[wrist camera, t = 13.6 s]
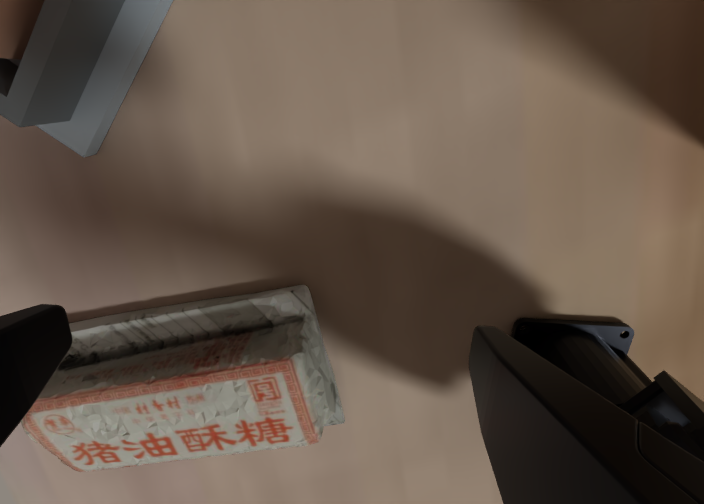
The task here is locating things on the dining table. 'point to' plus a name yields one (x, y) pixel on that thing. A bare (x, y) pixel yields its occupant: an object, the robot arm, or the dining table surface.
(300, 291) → the packaged product
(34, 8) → the terracotta block
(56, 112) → the box
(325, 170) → the dining table surface
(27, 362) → the robot arm
